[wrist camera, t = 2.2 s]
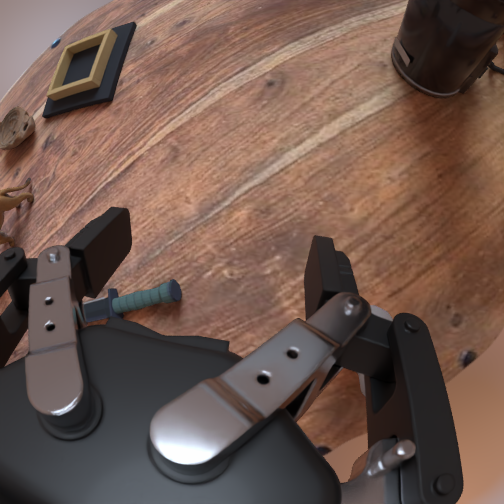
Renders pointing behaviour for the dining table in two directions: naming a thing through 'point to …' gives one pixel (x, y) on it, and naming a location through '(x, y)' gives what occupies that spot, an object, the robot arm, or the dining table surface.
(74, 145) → the dining table surface
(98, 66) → the pad
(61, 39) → the dining table surface
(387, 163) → the dining table surface
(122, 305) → the knife
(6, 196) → the lion figurine
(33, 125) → the oil lamp
